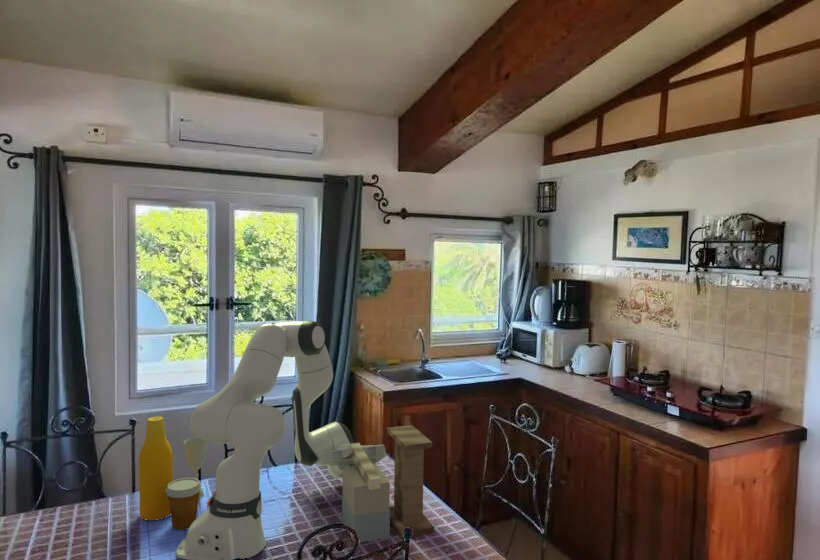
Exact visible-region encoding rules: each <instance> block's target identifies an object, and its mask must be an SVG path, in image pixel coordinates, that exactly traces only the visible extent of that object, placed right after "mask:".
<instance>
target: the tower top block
mask: <svg viewBox="0 0 820 560" xmlns="http://www.w3.org/2000/svg"><path fill="white" fill-rule="evenodd" d="M373 466H374V468H375V469H376V471H377V473H378V474H379V476H380V478H381V485H380V489H374V490H369V488H368V486H367V484H366V483H365V481H364V479H363V477H362V475H361V473H360V472H359V470H358V468H357V466H350V467H343V478H342V494H343V496H344V498H345V500H346V502H347V503H348V505H349V507H350V509H351V511H352V513H353V515H354V516H357V515H363V514H370V513H376V512H383V511H389V507H390V493H391V491H390V488H391V486H390V484H391V483H390V481H389V479H388V478H387V476H386V475H385V474H384V473H383V471H382V470H381V468H380V467H379V466H378V464H377V462H376V463H375V464H373Z"/></svg>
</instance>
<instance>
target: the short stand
mask: <svg viewBox="0 0 820 560" xmlns="http://www.w3.org/2000/svg"><path fill="white" fill-rule="evenodd" d="M386 430H387V432H386V433H387V434H388V435H389V437H391V438H392V439H393V440H394V468H393V469H394V473H393V474H394V476H393V477H394V481H393V482H394V485H393V487H394V489H393V505H392V506H391V505H389V510H390V524H391V526H392V527H393V529H394V530H395V532H396V533H397V534H398V536H399V537H400V539H404V538H403V530H404V529H405V528H406V527H409V528H412V529H413V535H412V537H416V536H417V537H418V536H422V535H423V536H424V535H427V534H434V533H435V526H434V525H433V524H432V522H431V521H430V520H429V518H427V516H426V515H425V514H424V457H425V456H424V455H425V454H424V453H425V451H424V450H425V449H432V448H433V444H434V443H433V442H432V440H430V438H428V437H427V436H426V435H424V434H423V433H422V432H421V431H420V430H419V429H417V428H416V426H414V425H413V424H411V425H402V426H393V427H387V429H386Z"/></svg>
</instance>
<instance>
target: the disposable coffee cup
mask: <svg viewBox="0 0 820 560" xmlns="http://www.w3.org/2000/svg"><path fill="white" fill-rule="evenodd" d="M200 489H202V484H201V482H200V480H199V478H198V479H196V478H194V477H183V478H181V477H180V478H177V479H173V481H172V482H170V483H169V484H168V486H167V489H166V493H167V495H168V501H169V508H170V514H171V515H170V520H171V527H172V526H173V527H172V529H174V528H176V529H184V530H187V529H186V528H188V529H189V527H190V526H191V524H192V523H193V522H194V521H195V520H196V519H197V518H198V517H197V516H198V507H199V501H200V500H199V492H200ZM176 529H175V530H176Z"/></svg>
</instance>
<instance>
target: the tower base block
mask: <svg viewBox="0 0 820 560" xmlns="http://www.w3.org/2000/svg"><path fill="white" fill-rule="evenodd" d="M341 521H342V523H343V525H344V526H345V525H347V526H349V527H351V528H353V529H354V530H355V531H356V532H357V533H358V535H359V539H360V542H364V541H369V540H370V542H372V541H371V540H376V541H378V540H377V539H381V540H386V539H385V538H387V539H390V532H391V525H390V524H391V523H390V510H389V511H383V512H376V513H370V514H363V515H357V516H354V515H353V513H352V511H351V509H350V507H349V505H348V503H347V502H346V500H345V498H344V496H343V493H342V494H341ZM351 536H352V539H351V540H352V541H353V540H354V536H353V534H352V535H351Z"/></svg>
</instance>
